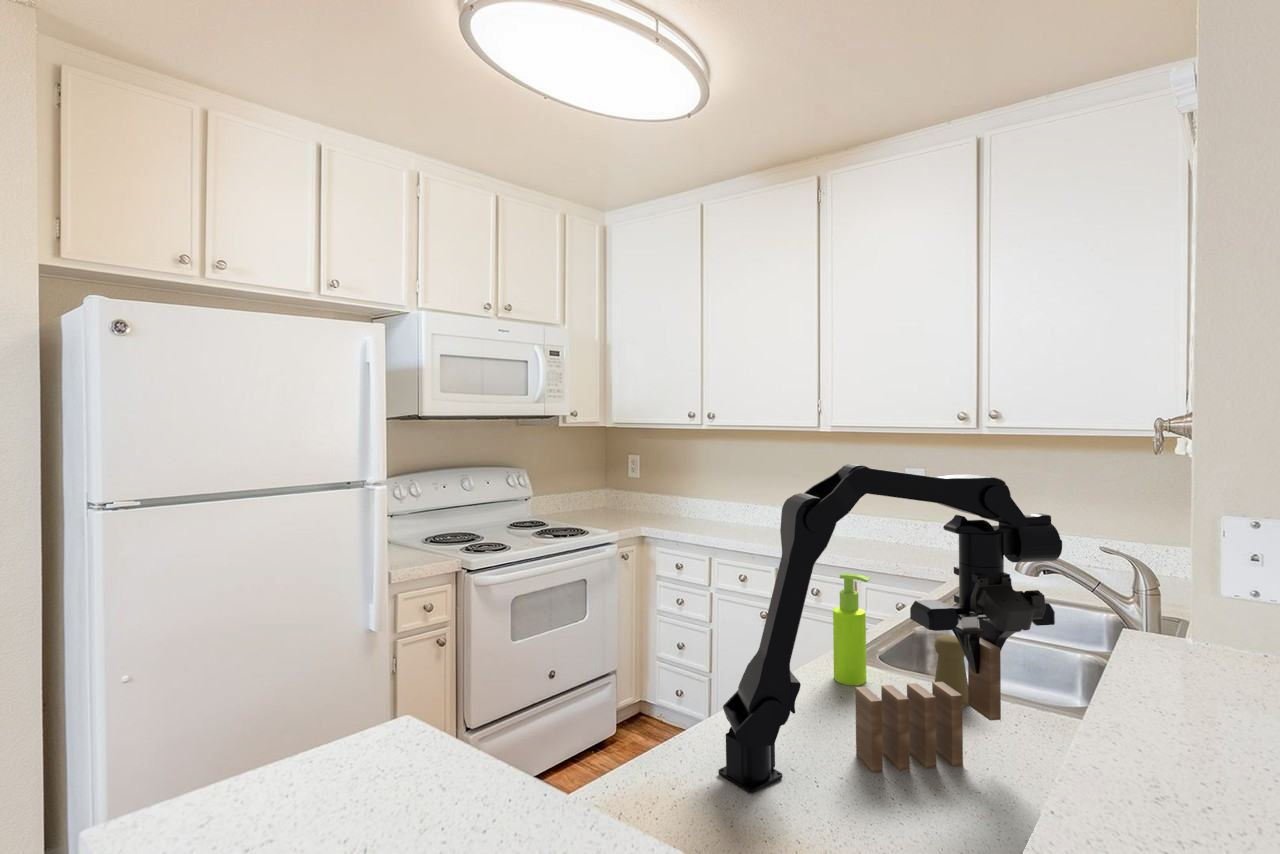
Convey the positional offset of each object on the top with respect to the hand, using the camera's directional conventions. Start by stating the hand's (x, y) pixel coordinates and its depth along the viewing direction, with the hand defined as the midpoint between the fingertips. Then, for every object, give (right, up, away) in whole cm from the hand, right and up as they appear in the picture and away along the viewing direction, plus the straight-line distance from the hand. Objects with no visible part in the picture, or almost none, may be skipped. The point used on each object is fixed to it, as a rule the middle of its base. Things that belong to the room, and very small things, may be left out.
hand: (981, 672), depth 95 cm
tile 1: (-16, -13, +1) cm, 21 cm away
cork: (+6, -13, +22) cm, 26 cm away
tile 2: (-12, -13, +1) cm, 18 cm away
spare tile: (0, -6, 0) cm, 6 cm away
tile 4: (-4, -13, +2) cm, 14 cm away
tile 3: (-8, -13, +1) cm, 15 cm away
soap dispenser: (-9, -13, +31) cm, 35 cm away
